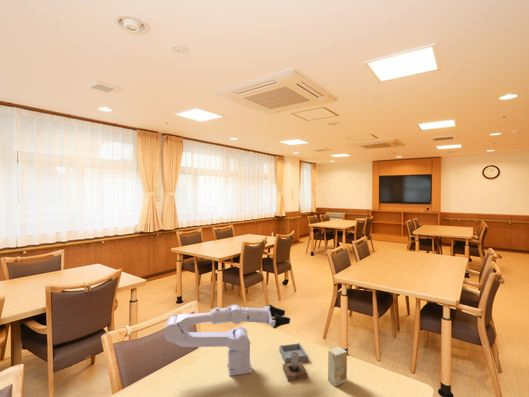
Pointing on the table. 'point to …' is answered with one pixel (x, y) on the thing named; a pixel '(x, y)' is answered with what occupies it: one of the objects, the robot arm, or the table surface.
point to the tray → (291, 348)
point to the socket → (296, 375)
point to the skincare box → (337, 366)
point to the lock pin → (294, 362)
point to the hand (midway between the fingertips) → (287, 316)
